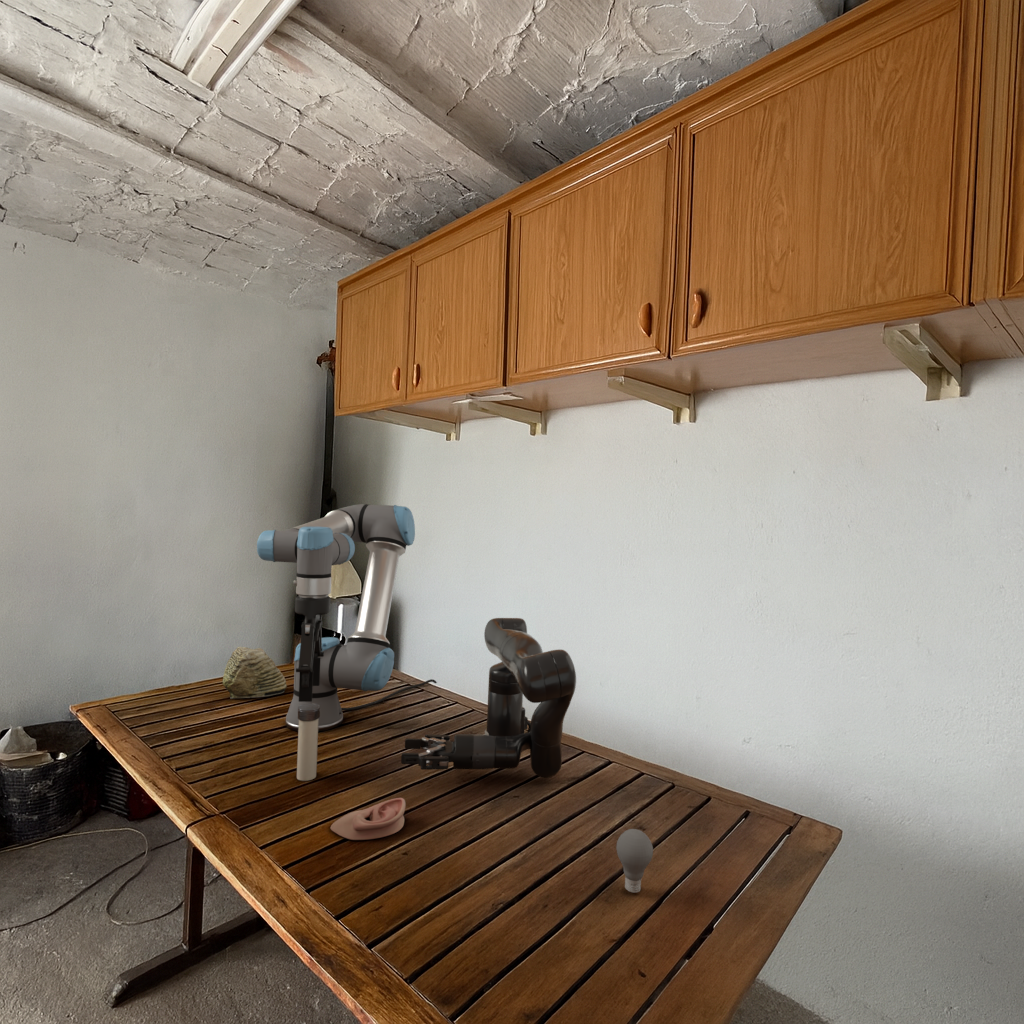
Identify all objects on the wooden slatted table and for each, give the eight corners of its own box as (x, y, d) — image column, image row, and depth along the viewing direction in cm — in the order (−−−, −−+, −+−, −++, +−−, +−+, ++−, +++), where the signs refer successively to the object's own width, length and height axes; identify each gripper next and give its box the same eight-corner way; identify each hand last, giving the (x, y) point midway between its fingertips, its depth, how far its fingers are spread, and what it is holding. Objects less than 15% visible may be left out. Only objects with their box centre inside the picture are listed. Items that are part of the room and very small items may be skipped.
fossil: (218, 695, 195) (220, 647, 195) (278, 685, 208) (279, 640, 207) (228, 703, 189) (230, 653, 188) (289, 692, 201) (290, 645, 201)
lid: (293, 717, 142) (293, 706, 142) (311, 712, 146) (311, 701, 146) (306, 722, 139) (306, 711, 139) (324, 717, 143) (324, 706, 143)
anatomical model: (323, 814, 118) (350, 787, 130) (322, 835, 118) (350, 806, 130) (389, 824, 116) (412, 796, 127) (389, 846, 116) (411, 816, 127)
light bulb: (610, 879, 108) (613, 822, 108) (644, 879, 109) (647, 822, 109) (619, 902, 102) (622, 840, 102) (655, 901, 103) (658, 840, 103)
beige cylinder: (292, 776, 142) (295, 708, 142) (308, 770, 146) (311, 704, 146) (304, 782, 140) (306, 713, 140) (320, 776, 143) (322, 708, 143)
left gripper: (304, 587, 153) (300, 678, 153) (285, 603, 130) (281, 710, 130) (336, 588, 154) (332, 678, 155) (323, 604, 131) (319, 709, 132)
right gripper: (474, 724, 153) (406, 723, 151) (475, 747, 138) (400, 746, 137) (473, 755, 153) (405, 754, 151) (474, 781, 138) (399, 781, 137)
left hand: (309, 693), depth 143 cm, fingers open, 11 cm apart
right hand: (403, 750), depth 144 cm, fingers open, 8 cm apart
